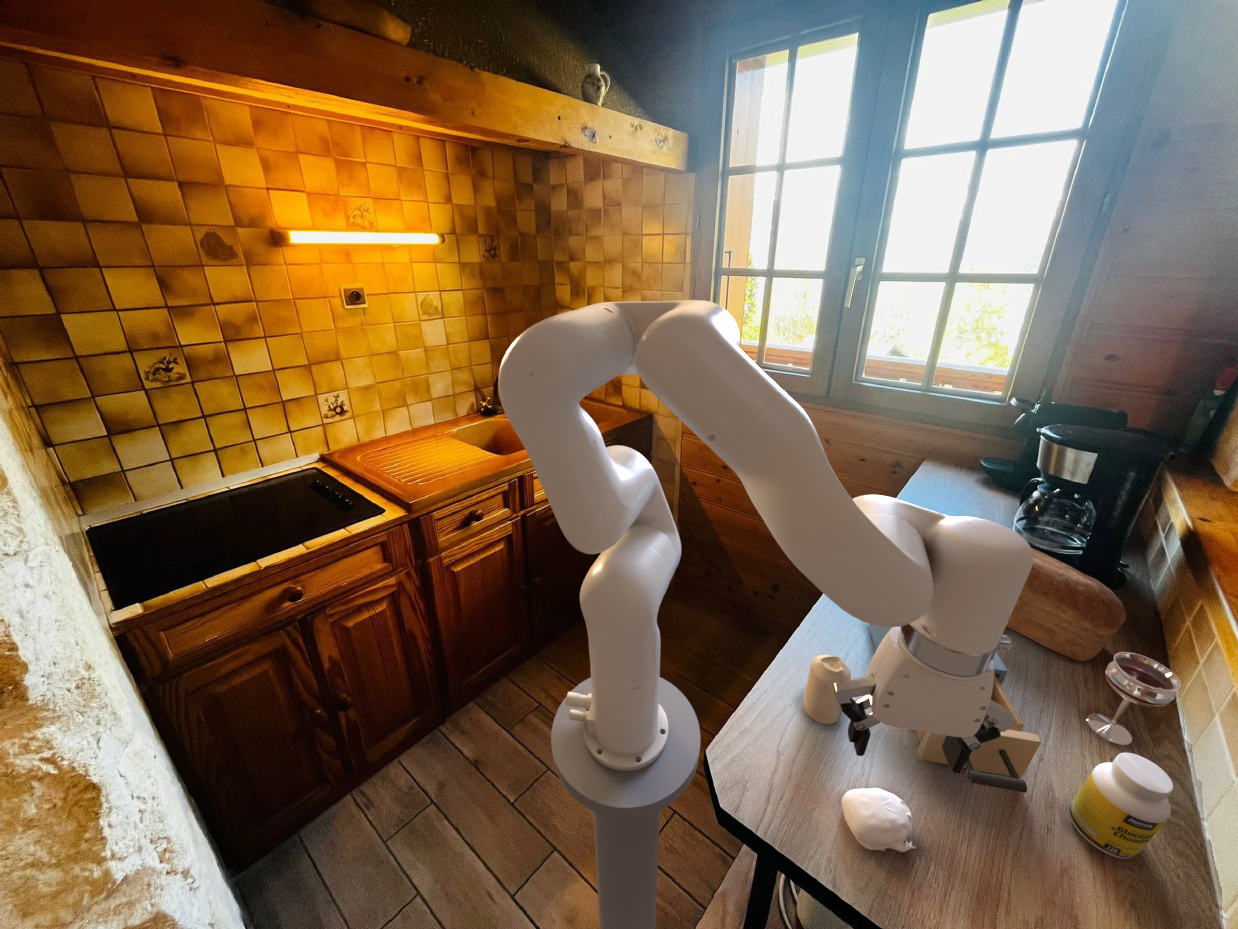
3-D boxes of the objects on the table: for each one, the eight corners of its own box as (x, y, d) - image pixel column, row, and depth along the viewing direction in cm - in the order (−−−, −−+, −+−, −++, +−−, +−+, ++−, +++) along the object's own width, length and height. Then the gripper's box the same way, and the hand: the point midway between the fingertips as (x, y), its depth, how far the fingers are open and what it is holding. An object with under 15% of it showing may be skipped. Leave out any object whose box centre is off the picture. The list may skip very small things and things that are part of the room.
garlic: (892, 794, 64) (899, 777, 63) (922, 854, 58) (931, 836, 56) (832, 797, 64) (837, 779, 62) (856, 856, 58) (862, 838, 56)
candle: (822, 689, 79) (833, 643, 75) (848, 717, 74) (861, 670, 70) (794, 700, 77) (804, 654, 73) (820, 730, 73) (832, 682, 68)
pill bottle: (1081, 850, 58) (1124, 791, 53) (1057, 796, 64) (1093, 738, 59) (1150, 870, 56) (1201, 811, 51) (1119, 812, 62) (1162, 754, 57)
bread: (930, 558, 109) (947, 507, 104) (1112, 643, 87) (1147, 583, 81) (902, 579, 103) (919, 525, 97) (1091, 677, 80) (1127, 614, 75)
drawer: (1043, 820, 60) (1066, 783, 57) (933, 798, 63) (949, 762, 60) (974, 688, 78) (989, 654, 75) (890, 675, 80) (901, 642, 77)
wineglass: (1153, 743, 70) (1195, 685, 65) (1118, 756, 68) (1159, 697, 63) (1100, 704, 76) (1134, 647, 71) (1067, 714, 74) (1100, 657, 69)
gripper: (1026, 623, 49) (974, 736, 56) (842, 600, 52) (816, 709, 60) (1071, 685, 42) (1006, 803, 50) (857, 654, 46) (826, 769, 53)
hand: (902, 752), depth 55 cm, fingers open, 9 cm apart
